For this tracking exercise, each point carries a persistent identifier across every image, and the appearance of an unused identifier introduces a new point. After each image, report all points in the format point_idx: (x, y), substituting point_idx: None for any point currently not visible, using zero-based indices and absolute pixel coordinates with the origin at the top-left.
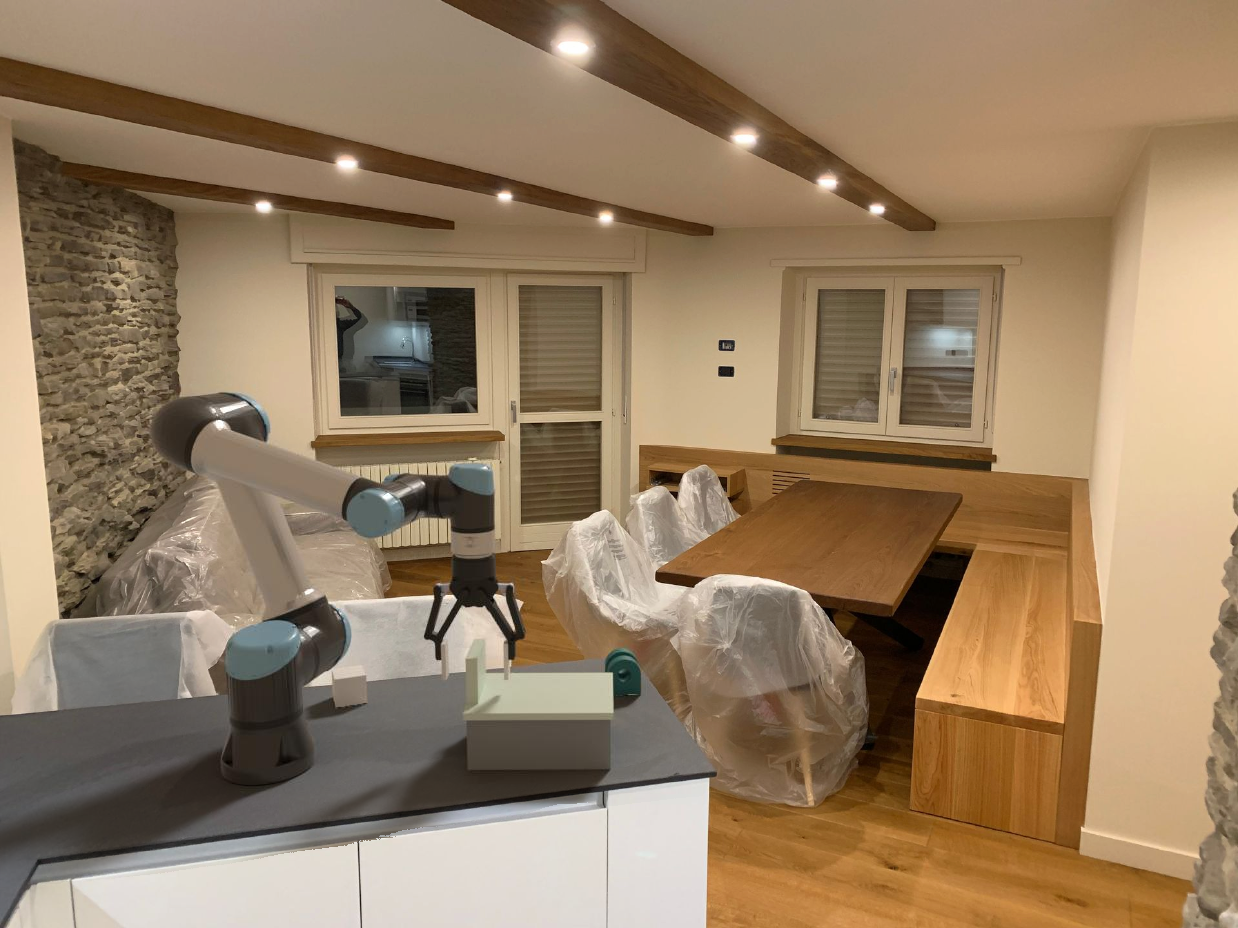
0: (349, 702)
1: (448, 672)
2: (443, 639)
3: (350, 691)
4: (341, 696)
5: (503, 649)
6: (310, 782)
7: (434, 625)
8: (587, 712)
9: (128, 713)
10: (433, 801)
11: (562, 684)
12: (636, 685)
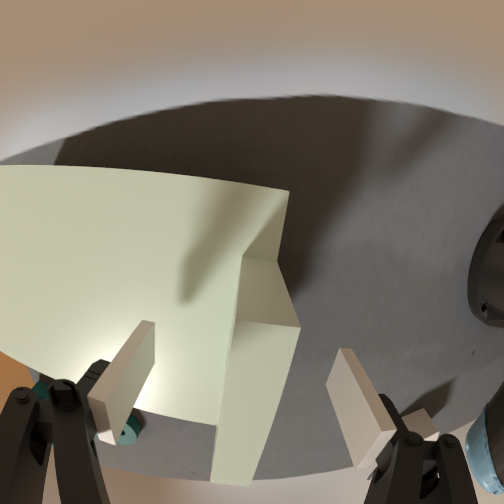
0: (411, 417)
1: (329, 384)
2: (371, 464)
3: (415, 426)
4: (423, 419)
5: (114, 385)
6: (474, 209)
7: (434, 489)
8: (9, 167)
9: None
10: (323, 99)
11: (52, 329)
12: (36, 389)
